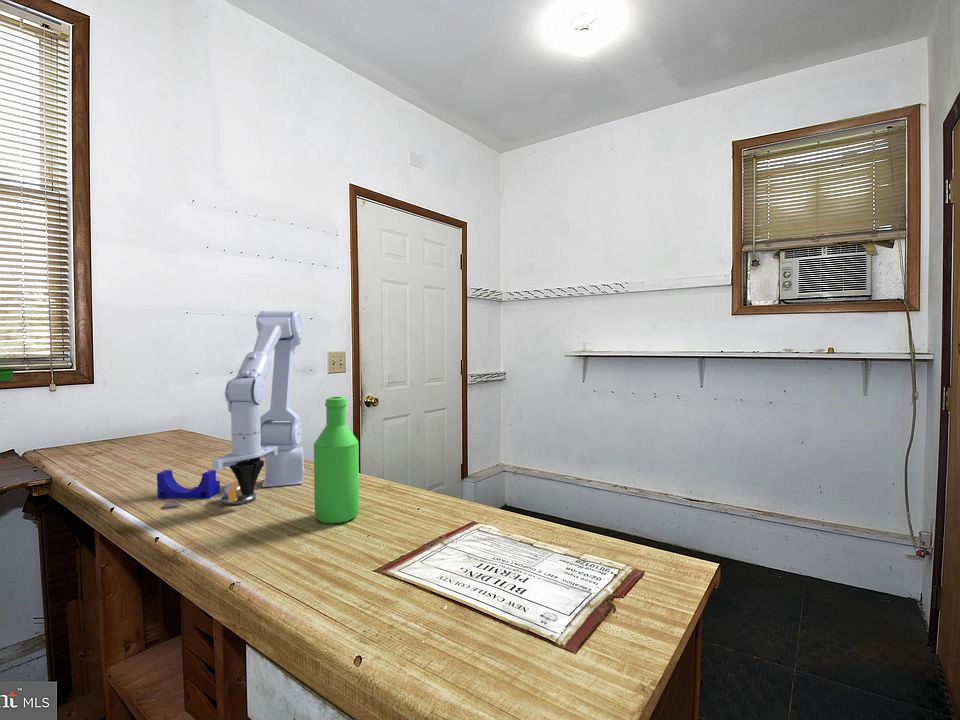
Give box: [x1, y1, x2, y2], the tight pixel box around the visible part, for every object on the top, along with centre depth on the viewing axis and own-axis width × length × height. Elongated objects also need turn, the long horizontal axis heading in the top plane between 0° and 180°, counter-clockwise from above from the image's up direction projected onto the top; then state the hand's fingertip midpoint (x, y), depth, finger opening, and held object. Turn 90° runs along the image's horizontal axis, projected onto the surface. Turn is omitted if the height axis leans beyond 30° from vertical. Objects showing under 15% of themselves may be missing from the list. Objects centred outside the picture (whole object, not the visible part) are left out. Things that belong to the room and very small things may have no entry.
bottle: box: [313, 396, 360, 524], centre depth 99 cm, size 9×9×25 cm
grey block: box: [161, 502, 181, 510], centre depth 106 cm, size 3×2×1 cm, turn 109°
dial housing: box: [221, 492, 257, 507], centre depth 110 cm, size 7×7×1 cm
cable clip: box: [156, 469, 221, 500], centre depth 114 cm, size 12×4×6 cm, turn 90°
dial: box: [223, 480, 251, 502], centre depth 108 cm, size 12×6×4 cm, turn 18°
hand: (247, 494), depth 105 cm, fingers closed
